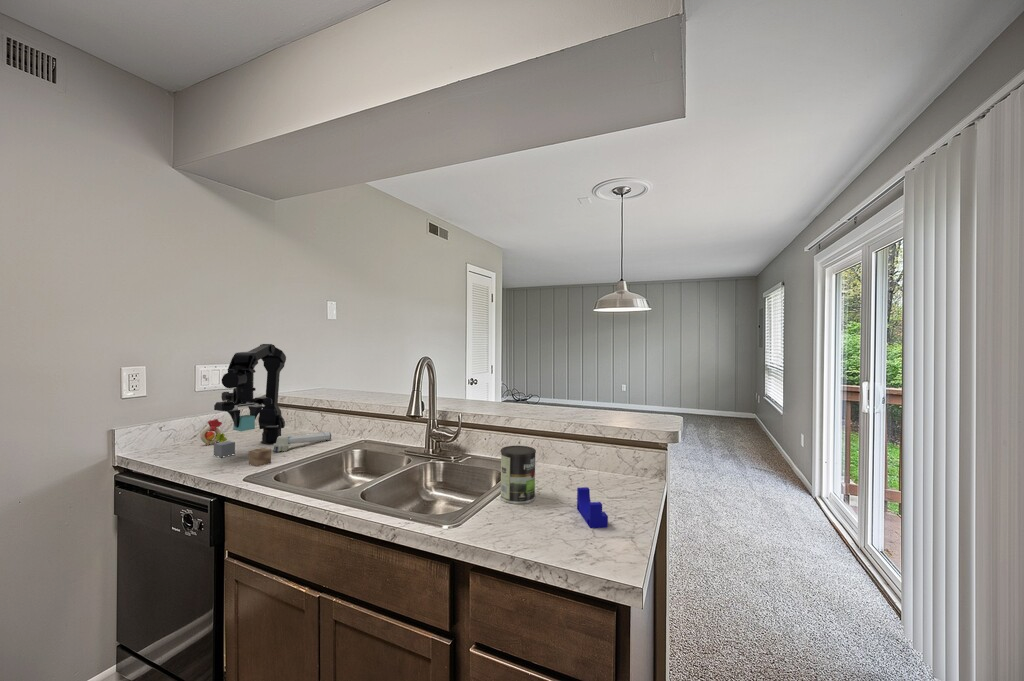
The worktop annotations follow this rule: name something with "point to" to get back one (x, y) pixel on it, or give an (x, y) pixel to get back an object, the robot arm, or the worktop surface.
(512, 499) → the coffee can
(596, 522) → the blue stepped block
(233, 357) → the robot arm
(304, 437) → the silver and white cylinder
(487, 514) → the worktop surface
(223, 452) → the charcoal block
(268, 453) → the walnut block
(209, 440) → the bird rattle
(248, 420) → the teal block
